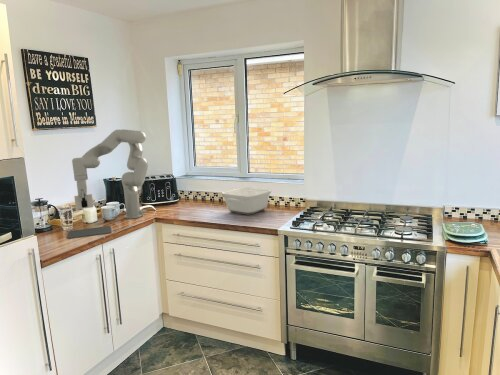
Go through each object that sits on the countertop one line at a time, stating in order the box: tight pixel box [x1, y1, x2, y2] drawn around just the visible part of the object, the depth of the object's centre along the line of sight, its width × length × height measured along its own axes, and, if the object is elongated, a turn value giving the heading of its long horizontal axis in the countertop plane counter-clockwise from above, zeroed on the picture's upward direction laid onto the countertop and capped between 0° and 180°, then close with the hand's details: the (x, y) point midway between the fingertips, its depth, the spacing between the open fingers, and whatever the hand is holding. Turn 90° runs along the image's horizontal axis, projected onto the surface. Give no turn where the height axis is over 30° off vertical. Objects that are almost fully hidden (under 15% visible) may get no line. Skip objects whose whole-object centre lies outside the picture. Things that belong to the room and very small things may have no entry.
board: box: [73, 193, 94, 210], centre depth 234 cm, size 10×2×8 cm, turn 112°
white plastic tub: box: [221, 186, 272, 216], centre depth 265 cm, size 34×29×15 cm
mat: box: [66, 225, 112, 240], centre depth 228 cm, size 24×16×1 cm, turn 112°
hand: (84, 206), depth 235 cm, fingers closed on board, 2 cm apart
